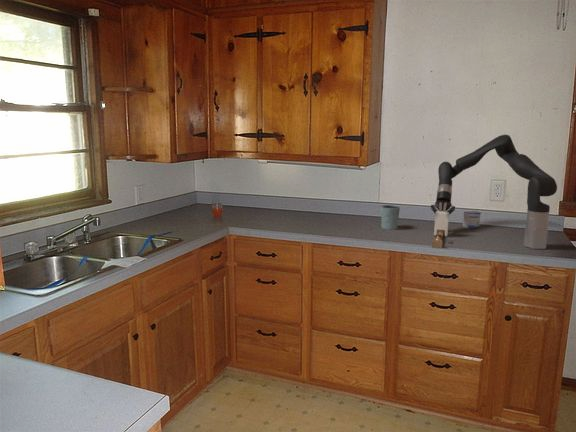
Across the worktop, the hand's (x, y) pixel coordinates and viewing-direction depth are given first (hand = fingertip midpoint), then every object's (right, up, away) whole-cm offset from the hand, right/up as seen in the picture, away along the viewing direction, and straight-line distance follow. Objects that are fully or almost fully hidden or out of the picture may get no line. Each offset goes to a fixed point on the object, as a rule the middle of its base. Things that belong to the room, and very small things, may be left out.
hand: (441, 221), depth 261 cm
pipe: (-2, -9, -10) cm, 13 cm away
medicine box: (+22, -4, +17) cm, 28 cm away
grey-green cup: (-24, -4, +14) cm, 28 cm away
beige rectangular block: (-1, -7, -3) cm, 8 cm away
